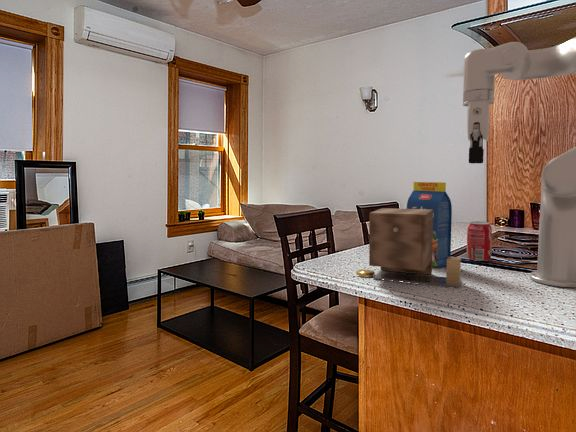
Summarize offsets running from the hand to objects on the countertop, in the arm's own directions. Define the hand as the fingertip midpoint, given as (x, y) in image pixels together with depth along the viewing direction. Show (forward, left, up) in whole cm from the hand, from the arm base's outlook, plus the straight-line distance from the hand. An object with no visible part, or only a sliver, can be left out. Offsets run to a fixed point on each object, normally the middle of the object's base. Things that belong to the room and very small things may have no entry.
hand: (476, 163), depth 110 cm
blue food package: (+13, -6, -31) cm, 34 cm away
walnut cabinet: (+17, +14, -30) cm, 37 cm away
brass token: (+27, +15, -31) cm, 43 cm away
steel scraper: (+13, +15, -31) cm, 37 cm away
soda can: (-1, -16, -31) cm, 34 cm away
